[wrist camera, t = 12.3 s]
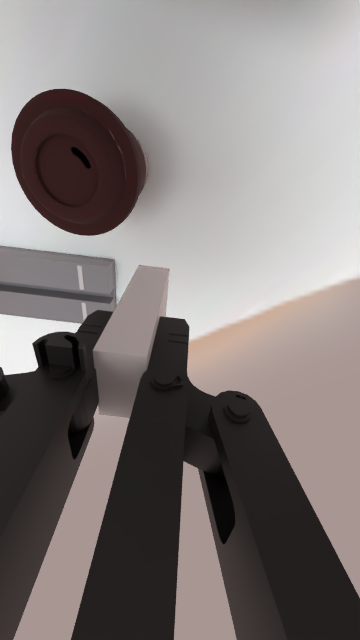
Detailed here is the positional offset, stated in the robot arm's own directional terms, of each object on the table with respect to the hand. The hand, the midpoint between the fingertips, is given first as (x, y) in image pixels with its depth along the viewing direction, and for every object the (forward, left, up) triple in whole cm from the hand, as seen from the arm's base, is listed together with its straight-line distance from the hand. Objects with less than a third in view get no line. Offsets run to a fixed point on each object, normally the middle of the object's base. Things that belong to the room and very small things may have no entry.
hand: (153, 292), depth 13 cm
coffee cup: (-4, -8, -25) cm, 26 cm away
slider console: (+13, -21, -24) cm, 35 cm away
